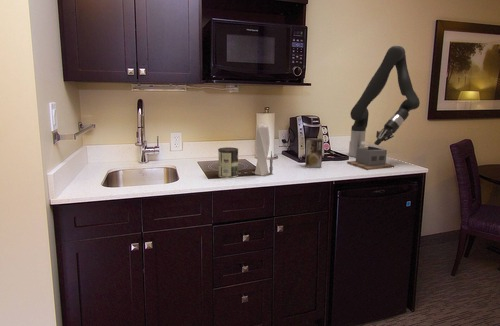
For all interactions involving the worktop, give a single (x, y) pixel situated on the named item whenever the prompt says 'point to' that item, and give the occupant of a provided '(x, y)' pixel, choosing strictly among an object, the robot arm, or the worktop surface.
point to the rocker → (371, 145)
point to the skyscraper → (262, 150)
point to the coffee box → (313, 152)
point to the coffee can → (228, 162)
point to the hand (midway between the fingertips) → (375, 144)
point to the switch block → (371, 156)
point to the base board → (369, 166)
